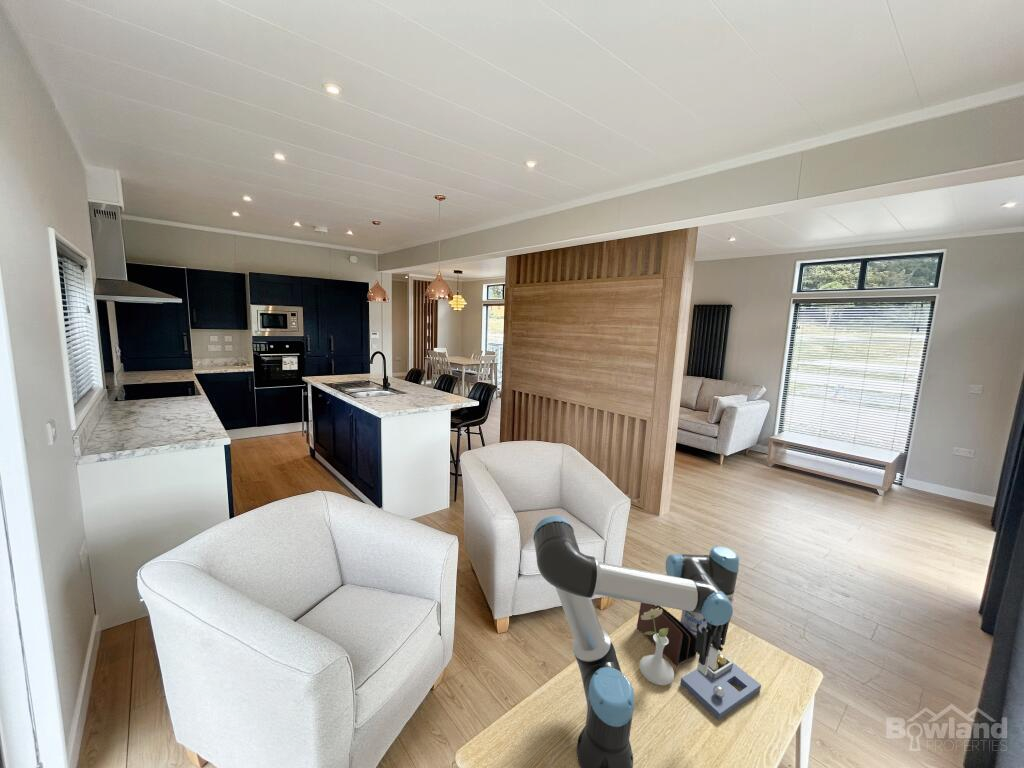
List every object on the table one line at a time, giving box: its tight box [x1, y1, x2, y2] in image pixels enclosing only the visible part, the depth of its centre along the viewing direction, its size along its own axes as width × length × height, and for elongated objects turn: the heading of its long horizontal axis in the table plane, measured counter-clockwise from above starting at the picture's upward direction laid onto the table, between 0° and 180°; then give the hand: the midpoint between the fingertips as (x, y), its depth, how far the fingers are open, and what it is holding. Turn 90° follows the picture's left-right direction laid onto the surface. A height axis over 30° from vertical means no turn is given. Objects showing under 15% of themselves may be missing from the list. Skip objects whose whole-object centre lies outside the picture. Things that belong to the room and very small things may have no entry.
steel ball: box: [713, 686, 724, 698], centre depth 133 cm, size 3×3×3 cm
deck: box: [679, 651, 762, 721], centre depth 139 cm, size 22×14×4 cm, turn 120°
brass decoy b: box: [717, 653, 727, 667], centre depth 145 cm, size 4×4×4 cm
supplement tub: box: [680, 610, 703, 636], centre depth 165 cm, size 10×10×15 cm
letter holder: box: [636, 602, 697, 668], centre depth 156 cm, size 10×20×14 cm, turn 27°
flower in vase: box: [638, 608, 675, 686], centre depth 141 cm, size 13×11×25 cm
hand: (706, 668), depth 126 cm, fingers open, 3 cm apart
